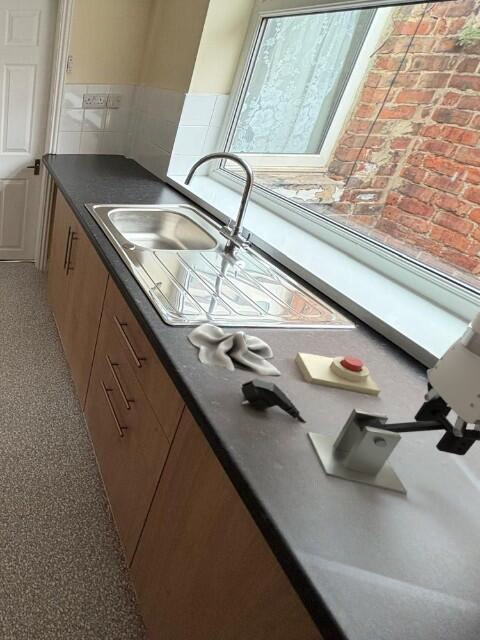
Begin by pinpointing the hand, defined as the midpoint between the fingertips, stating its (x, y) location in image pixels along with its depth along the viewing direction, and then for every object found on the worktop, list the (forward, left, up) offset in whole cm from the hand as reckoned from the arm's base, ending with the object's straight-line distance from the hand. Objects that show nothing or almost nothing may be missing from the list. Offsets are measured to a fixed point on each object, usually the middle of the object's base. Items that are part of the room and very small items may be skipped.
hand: (437, 435), depth 66 cm
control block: (+2, -25, -11) cm, 27 cm away
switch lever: (+4, 0, -1) cm, 4 cm away
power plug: (+18, -9, -11) cm, 23 cm away
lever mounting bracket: (+8, 0, -11) cm, 13 cm away
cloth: (+22, -27, -11) cm, 36 cm away
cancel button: (0, -25, -7) cm, 26 cm away
